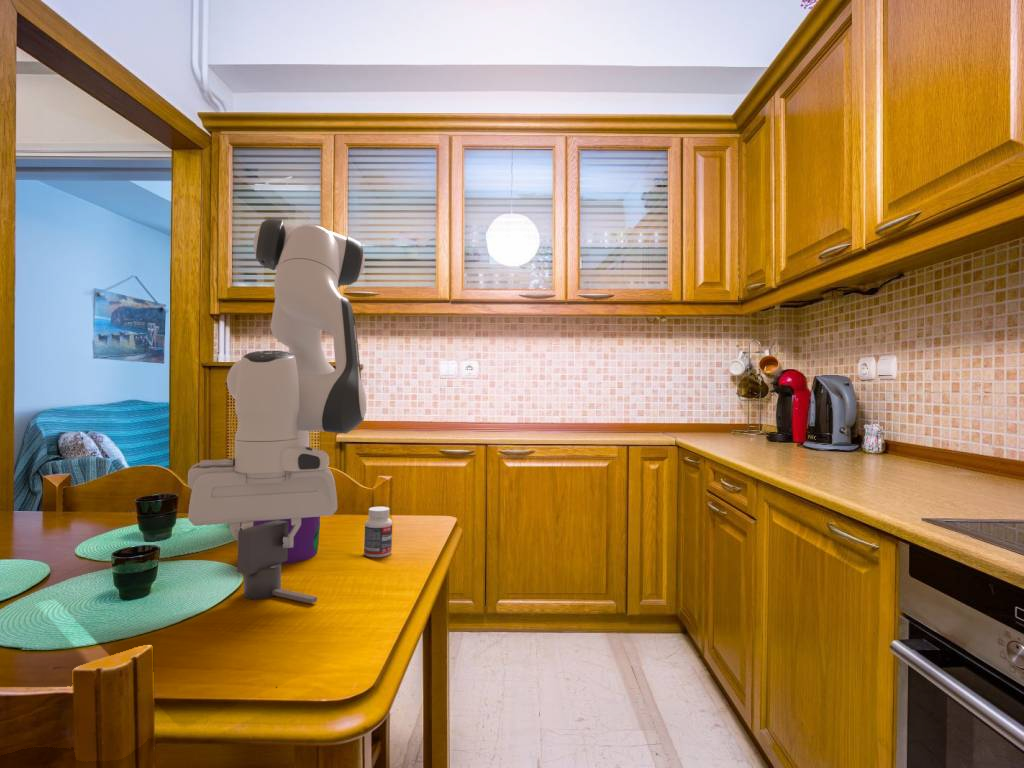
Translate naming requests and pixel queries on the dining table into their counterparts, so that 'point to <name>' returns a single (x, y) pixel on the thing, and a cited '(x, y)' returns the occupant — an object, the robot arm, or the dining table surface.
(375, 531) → the pill bottle
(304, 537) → the mug
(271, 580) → the grey block with rod
